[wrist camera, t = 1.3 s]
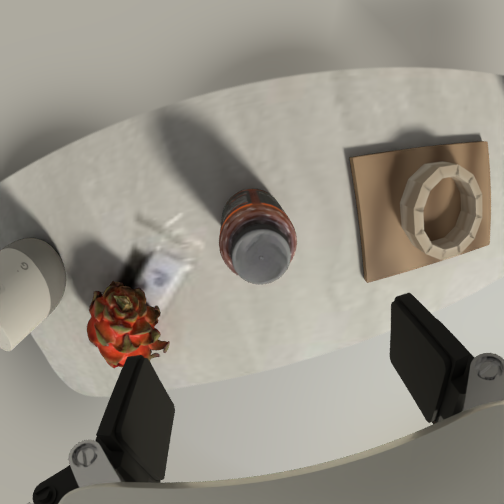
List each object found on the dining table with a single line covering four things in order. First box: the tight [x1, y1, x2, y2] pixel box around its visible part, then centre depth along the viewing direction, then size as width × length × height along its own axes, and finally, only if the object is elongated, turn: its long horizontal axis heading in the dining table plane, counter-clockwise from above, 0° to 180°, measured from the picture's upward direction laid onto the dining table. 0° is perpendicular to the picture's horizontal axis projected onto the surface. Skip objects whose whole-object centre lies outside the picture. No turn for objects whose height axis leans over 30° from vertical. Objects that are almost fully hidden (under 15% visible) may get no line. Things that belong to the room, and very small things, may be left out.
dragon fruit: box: [87, 281, 170, 368], centre depth 31 cm, size 8×8×12 cm
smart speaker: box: [0, 238, 66, 351], centre depth 25 cm, size 10×9×14 cm
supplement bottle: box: [219, 189, 297, 284], centre depth 26 cm, size 6×6×11 cm
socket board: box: [349, 141, 491, 283], centre depth 29 cm, size 20×14×4 cm
